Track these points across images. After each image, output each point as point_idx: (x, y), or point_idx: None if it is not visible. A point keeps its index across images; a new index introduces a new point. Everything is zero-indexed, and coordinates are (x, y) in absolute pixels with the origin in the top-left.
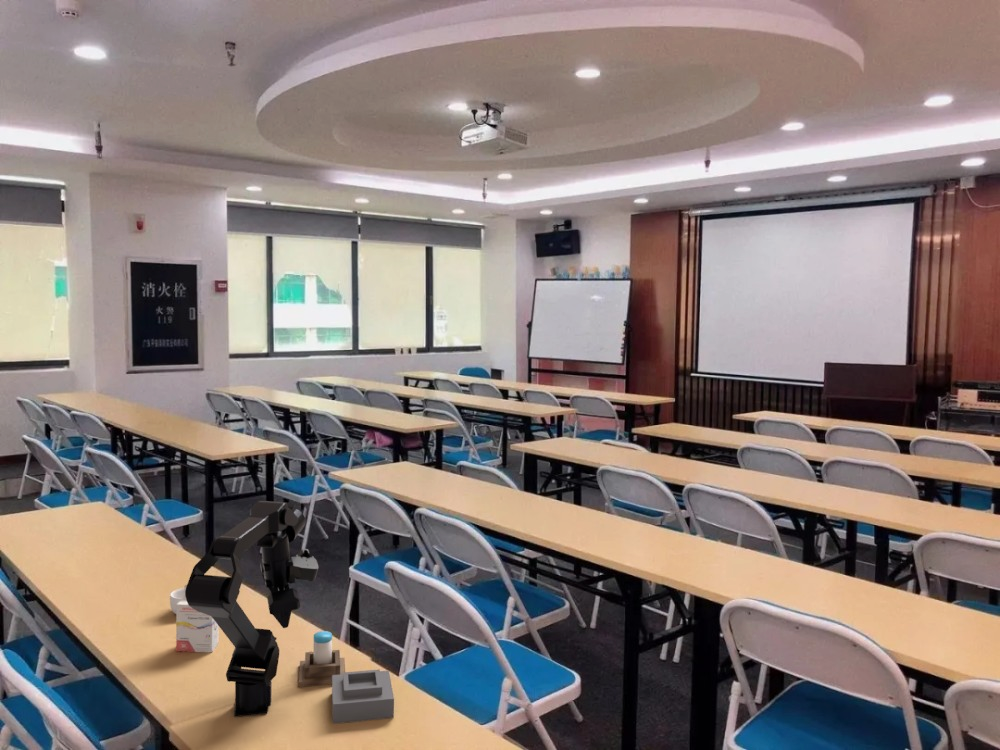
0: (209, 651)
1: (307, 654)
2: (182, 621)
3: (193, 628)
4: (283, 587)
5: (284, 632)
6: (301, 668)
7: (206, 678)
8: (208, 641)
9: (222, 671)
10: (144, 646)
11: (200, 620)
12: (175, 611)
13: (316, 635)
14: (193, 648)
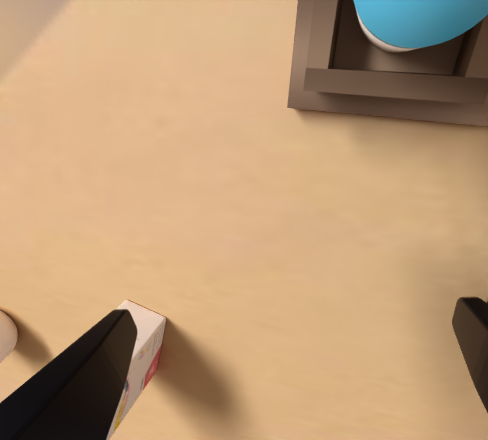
0: (164, 322)
1: (328, 81)
2: (113, 427)
3: (127, 394)
4: (21, 434)
5: (63, 140)
6: (357, 105)
7: (297, 351)
8: (150, 342)
9: (269, 316)
10: None
11: None
12: (12, 349)
13: (416, 22)
14: (157, 352)
